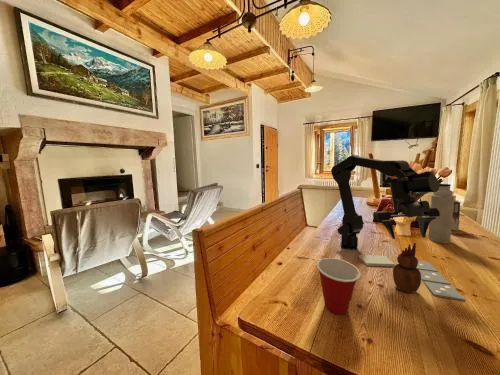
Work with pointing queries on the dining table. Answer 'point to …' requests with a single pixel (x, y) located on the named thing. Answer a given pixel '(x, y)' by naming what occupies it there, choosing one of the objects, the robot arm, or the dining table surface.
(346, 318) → the dining table surface
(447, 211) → the thermos bottle
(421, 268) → the pad
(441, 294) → the pad
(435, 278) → the pad
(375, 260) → the folded napkin
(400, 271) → the wooden figurine
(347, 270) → the plastic cup
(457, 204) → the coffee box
